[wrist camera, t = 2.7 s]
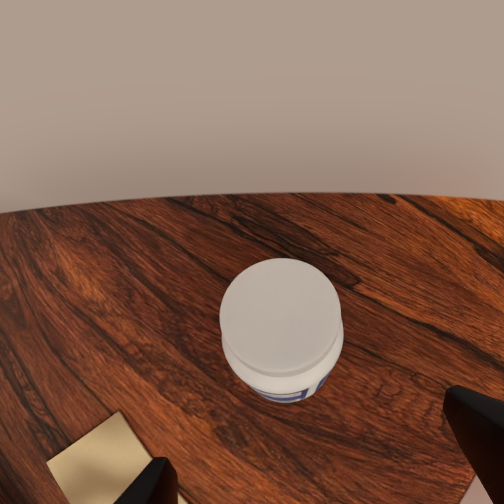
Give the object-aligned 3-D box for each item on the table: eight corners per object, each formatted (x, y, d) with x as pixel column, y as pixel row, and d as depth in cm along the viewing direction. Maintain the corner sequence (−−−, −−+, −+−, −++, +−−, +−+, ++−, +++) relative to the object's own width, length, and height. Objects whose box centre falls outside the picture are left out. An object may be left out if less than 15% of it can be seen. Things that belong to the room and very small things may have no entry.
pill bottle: (295, 306, 22) (295, 222, 14) (346, 369, 20) (386, 323, 11) (227, 352, 21) (180, 295, 13) (274, 420, 19) (259, 417, 10)
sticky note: (196, 512, 16) (195, 513, 15) (110, 555, 13) (108, 556, 13) (120, 411, 20) (118, 410, 19) (48, 462, 17) (45, 462, 17)
